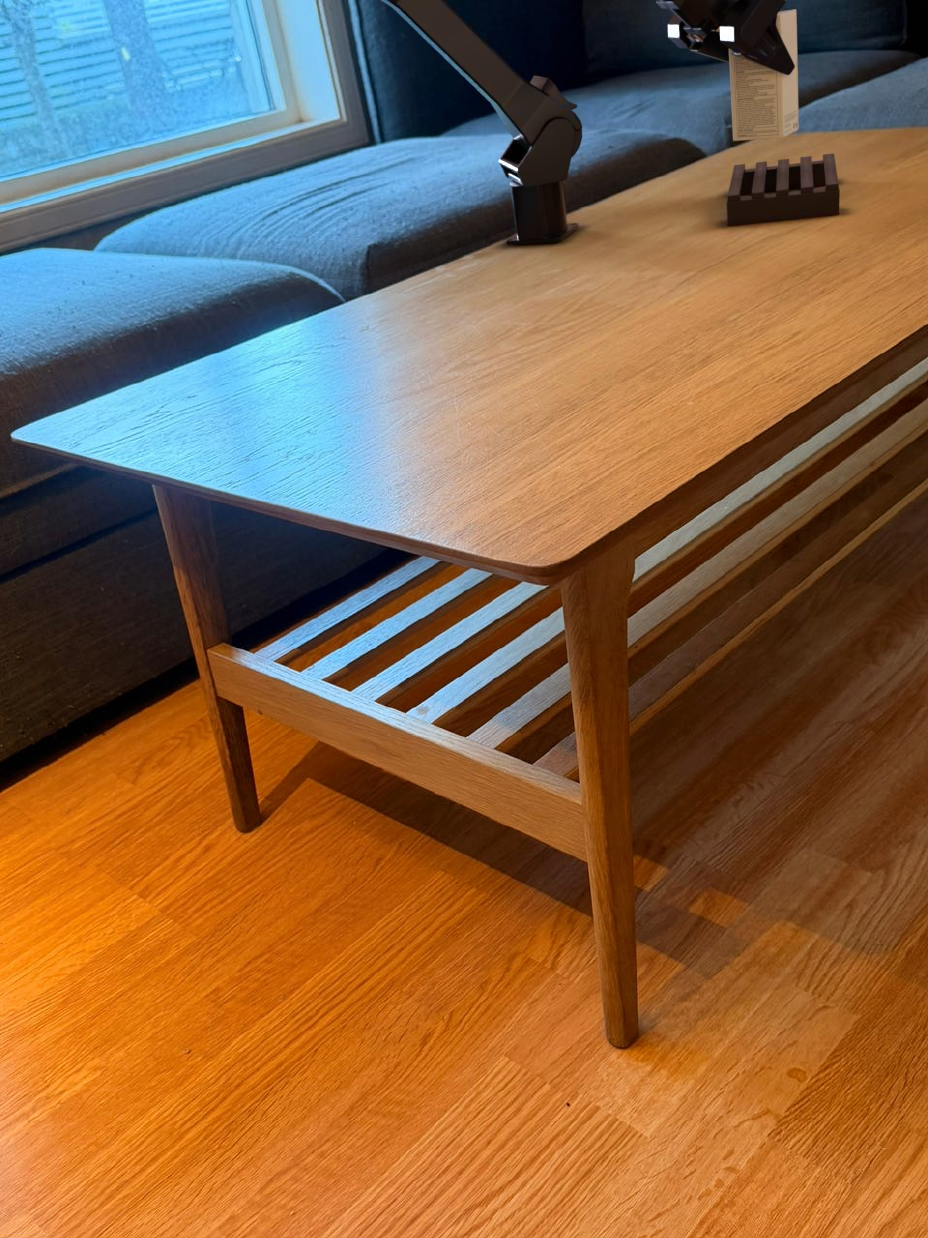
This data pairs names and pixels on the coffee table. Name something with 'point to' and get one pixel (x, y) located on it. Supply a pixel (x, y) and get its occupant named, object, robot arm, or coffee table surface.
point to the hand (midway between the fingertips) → (775, 69)
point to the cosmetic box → (766, 91)
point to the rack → (783, 191)
